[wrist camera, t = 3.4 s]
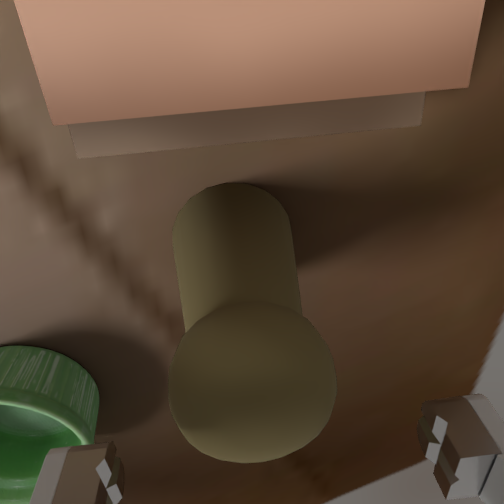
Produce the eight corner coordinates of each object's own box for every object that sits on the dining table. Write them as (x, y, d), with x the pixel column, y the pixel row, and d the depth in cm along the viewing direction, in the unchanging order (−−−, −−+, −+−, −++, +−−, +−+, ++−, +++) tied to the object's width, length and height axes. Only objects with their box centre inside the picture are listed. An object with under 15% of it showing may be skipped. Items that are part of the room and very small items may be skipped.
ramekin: (16, 453, 28) (-13, 524, 24) (-90, 368, 23) (-147, 439, 19) (136, 410, 27) (125, 476, 23) (51, 313, 22) (20, 376, 18)
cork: (306, 194, 20) (400, 362, 11) (274, 294, 23) (325, 495, 13) (181, 171, 19) (162, 338, 9) (164, 279, 22) (136, 490, 12)
